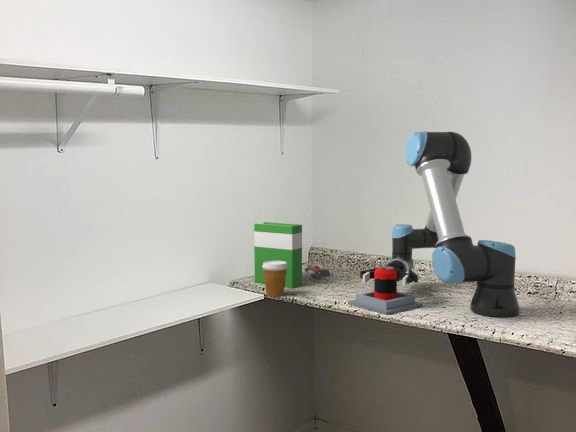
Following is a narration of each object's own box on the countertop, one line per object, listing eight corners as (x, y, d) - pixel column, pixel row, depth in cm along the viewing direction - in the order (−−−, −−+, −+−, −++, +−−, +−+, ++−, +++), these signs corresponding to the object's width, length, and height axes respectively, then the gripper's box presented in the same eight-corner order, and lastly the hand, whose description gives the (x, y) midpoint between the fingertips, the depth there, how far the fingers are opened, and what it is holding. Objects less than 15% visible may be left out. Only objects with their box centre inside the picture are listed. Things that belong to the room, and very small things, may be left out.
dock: (422, 306, 207) (423, 296, 206) (386, 315, 196) (386, 304, 195) (383, 296, 221) (383, 287, 221) (347, 304, 210) (347, 294, 210)
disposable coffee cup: (277, 290, 231) (277, 259, 230) (293, 295, 223) (293, 263, 222) (257, 294, 225) (256, 262, 224) (272, 299, 218) (272, 265, 216)
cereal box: (254, 283, 244) (254, 223, 242) (265, 280, 250) (264, 222, 248) (292, 288, 235) (292, 226, 232) (301, 284, 241) (302, 224, 239)
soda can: (371, 303, 207) (371, 268, 205) (378, 298, 213) (378, 265, 212) (392, 306, 203) (393, 270, 202) (399, 301, 210) (399, 266, 209)
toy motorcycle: (300, 272, 268) (317, 281, 249) (300, 262, 267) (317, 271, 248) (318, 271, 270) (337, 280, 252) (318, 261, 270) (337, 269, 251)
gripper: (430, 282, 220) (420, 295, 201) (363, 277, 229) (347, 288, 210) (431, 261, 219) (421, 272, 200) (363, 257, 229) (347, 267, 209)
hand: (383, 280), depth 205 cm, fingers open, 13 cm apart
